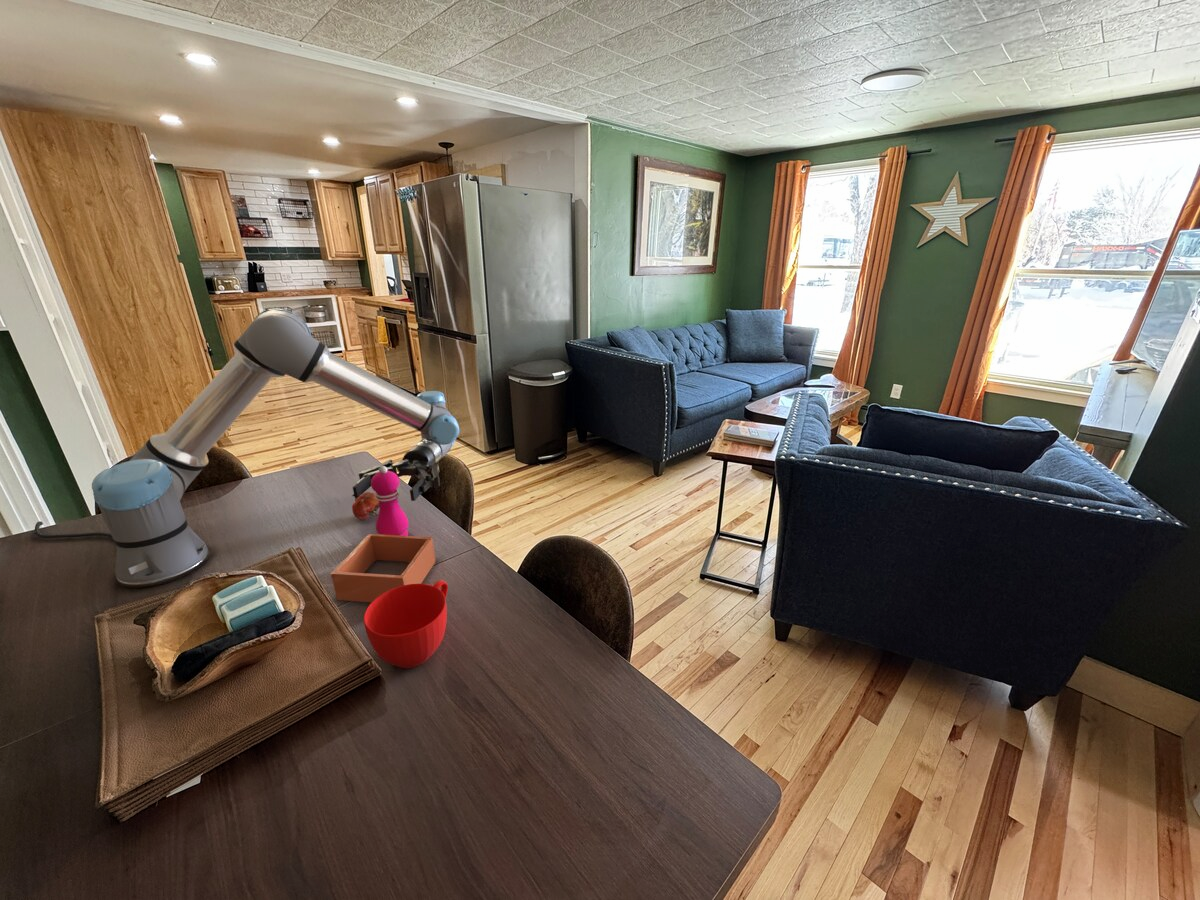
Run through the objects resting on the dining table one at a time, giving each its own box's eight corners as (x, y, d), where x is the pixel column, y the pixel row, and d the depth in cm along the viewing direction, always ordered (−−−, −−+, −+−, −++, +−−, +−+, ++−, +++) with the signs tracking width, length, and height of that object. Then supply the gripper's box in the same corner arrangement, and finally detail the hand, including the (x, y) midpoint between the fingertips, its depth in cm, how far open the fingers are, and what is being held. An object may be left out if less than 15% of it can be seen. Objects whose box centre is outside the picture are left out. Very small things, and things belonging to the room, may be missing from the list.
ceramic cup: (477, 622, 91) (473, 579, 87) (419, 693, 76) (411, 645, 72) (421, 606, 94) (415, 564, 91) (355, 670, 79) (344, 624, 76)
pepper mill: (400, 550, 112) (387, 474, 104) (372, 546, 113) (358, 471, 105) (416, 534, 118) (405, 461, 111) (390, 531, 119) (377, 458, 112)
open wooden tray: (337, 600, 95) (330, 573, 93) (373, 557, 109) (369, 533, 106) (407, 604, 95) (402, 578, 92) (435, 561, 108) (432, 537, 106)
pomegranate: (390, 518, 129) (364, 493, 130) (396, 505, 124) (370, 479, 125) (367, 534, 123) (340, 507, 124) (373, 520, 119) (345, 492, 119)
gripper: (375, 443, 128) (328, 476, 108) (465, 447, 126) (434, 482, 107) (380, 468, 131) (334, 505, 111) (468, 472, 129) (437, 511, 110)
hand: (383, 494), depth 109 cm, fingers open, 13 cm apart
